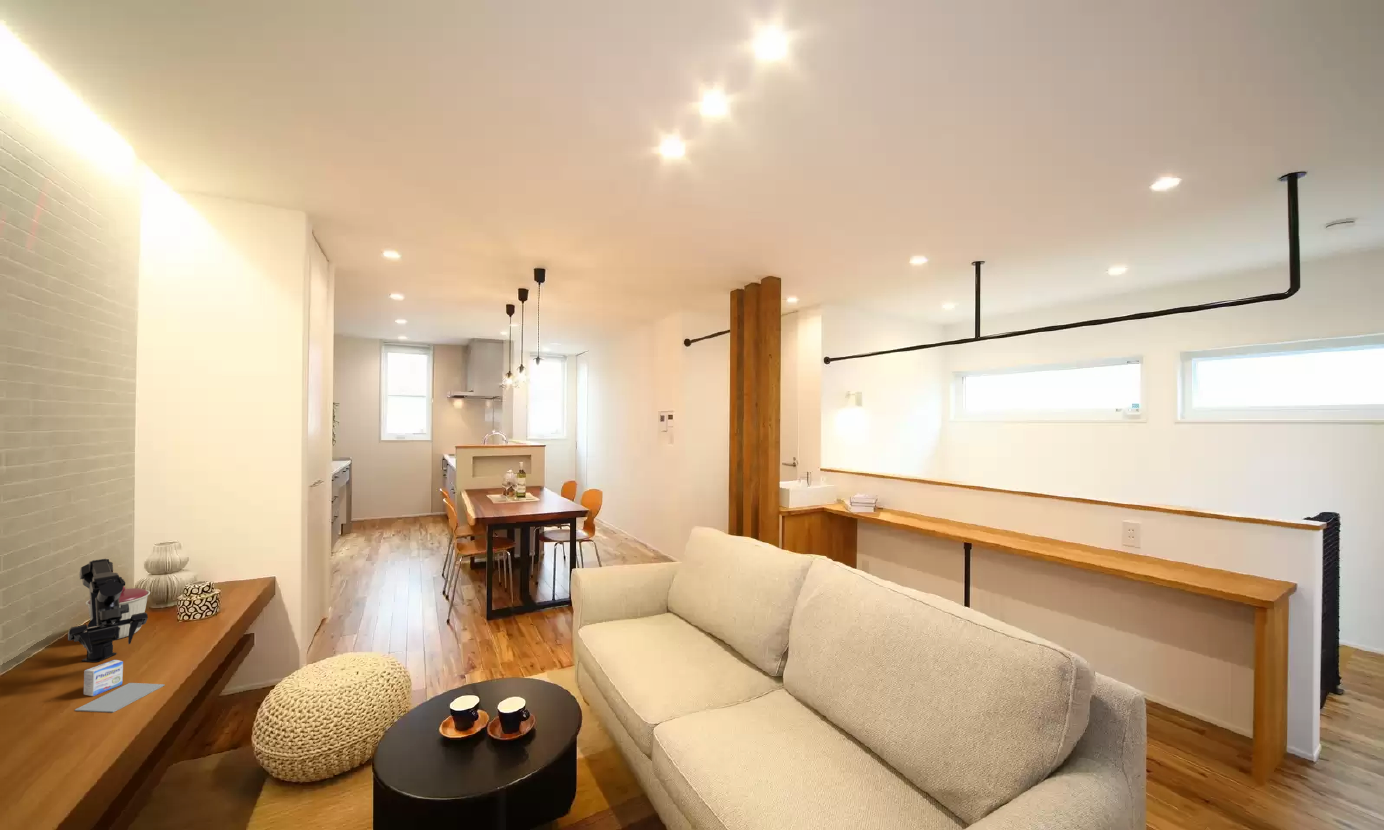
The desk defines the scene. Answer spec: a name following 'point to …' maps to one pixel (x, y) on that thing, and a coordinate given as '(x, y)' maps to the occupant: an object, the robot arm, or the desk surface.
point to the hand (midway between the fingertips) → (110, 648)
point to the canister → (136, 606)
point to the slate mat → (120, 697)
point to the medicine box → (103, 677)
